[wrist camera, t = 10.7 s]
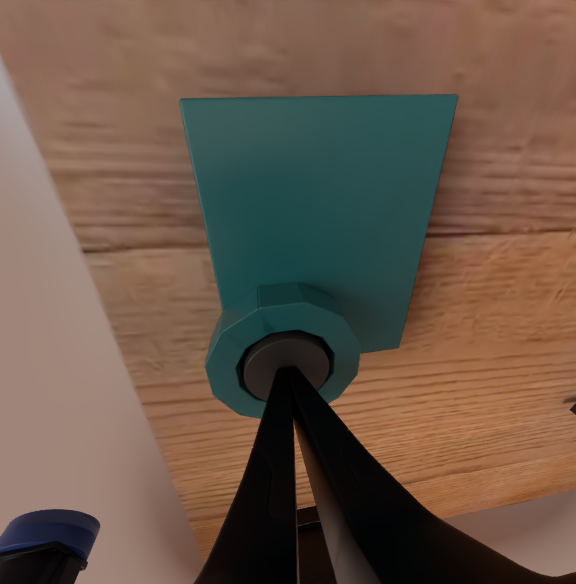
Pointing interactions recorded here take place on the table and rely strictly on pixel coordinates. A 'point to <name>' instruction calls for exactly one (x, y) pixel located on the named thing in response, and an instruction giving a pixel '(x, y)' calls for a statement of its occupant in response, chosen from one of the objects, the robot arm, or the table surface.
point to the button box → (313, 221)
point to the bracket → (313, 550)
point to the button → (284, 359)
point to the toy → (573, 409)
